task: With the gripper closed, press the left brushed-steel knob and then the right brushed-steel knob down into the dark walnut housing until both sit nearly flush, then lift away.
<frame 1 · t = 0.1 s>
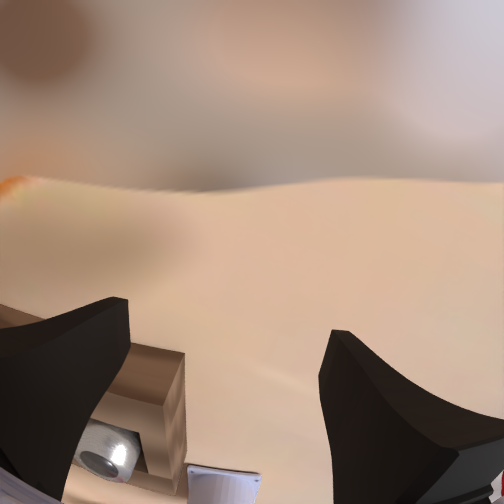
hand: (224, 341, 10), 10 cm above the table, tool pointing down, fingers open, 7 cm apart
knob 1: (112, 438, 19), point 5 cm above the table, slide at 0.0 cm
housing: (78, 382, 24), on the table
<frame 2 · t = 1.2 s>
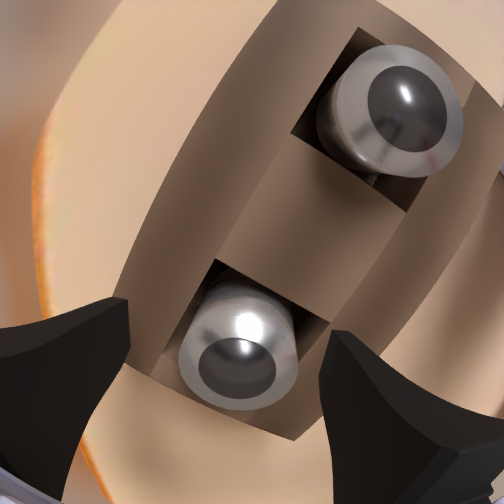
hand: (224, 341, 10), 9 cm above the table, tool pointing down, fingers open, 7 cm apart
knob 1: (381, 117, 12), point 5 cm above the table, slide at 0.0 cm
housing: (300, 211, 18), on the table
knob 2: (242, 333, 15), point 5 cm above the table, slide at 0.0 cm
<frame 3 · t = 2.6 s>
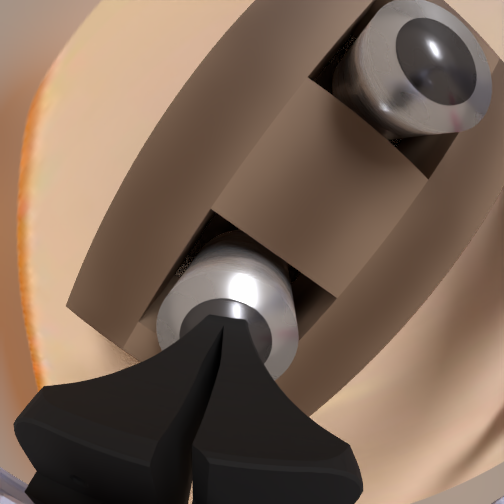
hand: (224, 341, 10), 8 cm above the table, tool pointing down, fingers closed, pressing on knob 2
knob 1: (404, 78, 10), point 5 cm above the table, slide at 0.0 cm
housing: (306, 180, 17), on the table
knob 2: (234, 303, 13), point 5 cm above the table, slide at 0.2 cm, touching gripper
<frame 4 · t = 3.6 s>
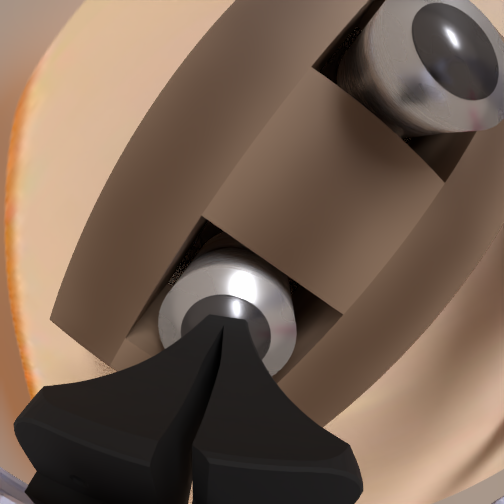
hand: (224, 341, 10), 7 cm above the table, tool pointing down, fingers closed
knob 1: (417, 70, 9), point 5 cm above the table, slide at 0.0 cm
housing: (308, 182, 15), on the table
knob 2: (233, 300, 14), point 3 cm above the table, slide at 1.9 cm
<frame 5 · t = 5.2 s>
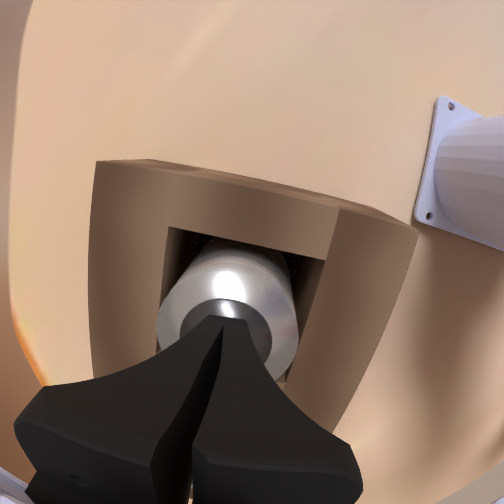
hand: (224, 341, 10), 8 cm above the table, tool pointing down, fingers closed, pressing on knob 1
knob 1: (234, 303, 13), point 5 cm above the table, slide at 0.3 cm, touching gripper
housing: (225, 349, 20), on the table
knob 2: (206, 441, 18), point 3 cm above the table, slide at 1.9 cm
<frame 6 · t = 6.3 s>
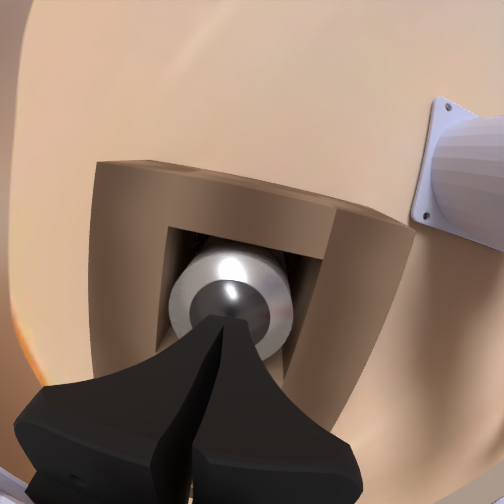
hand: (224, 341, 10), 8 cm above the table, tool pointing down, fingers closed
knob 1: (236, 288, 15), point 3 cm above the table, slide at 1.9 cm
housing: (224, 348, 20), on the table
knob 2: (205, 440, 18), point 3 cm above the table, slide at 1.9 cm
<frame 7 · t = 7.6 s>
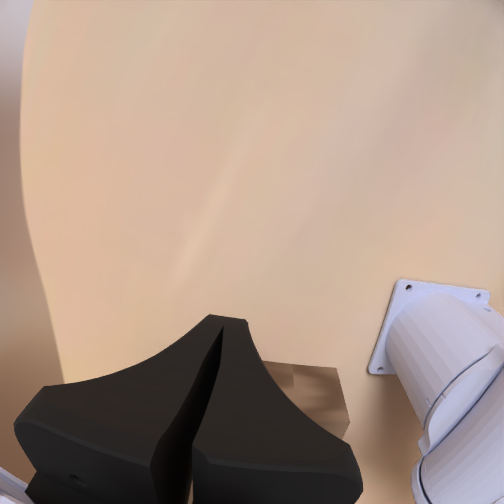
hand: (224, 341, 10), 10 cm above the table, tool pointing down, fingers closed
housing: (238, 445, 26), on the table
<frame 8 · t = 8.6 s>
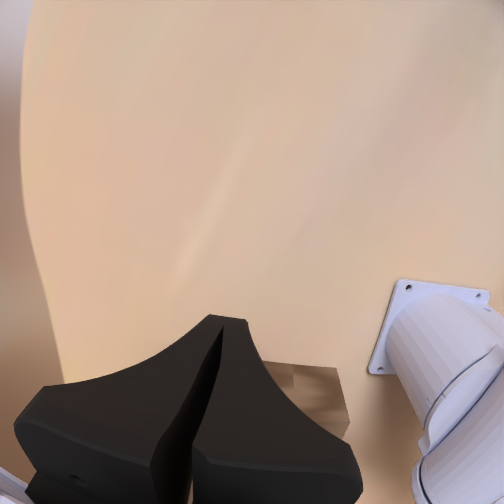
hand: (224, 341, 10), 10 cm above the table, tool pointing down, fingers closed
housing: (238, 445, 26), on the table
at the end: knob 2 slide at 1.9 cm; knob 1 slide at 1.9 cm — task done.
